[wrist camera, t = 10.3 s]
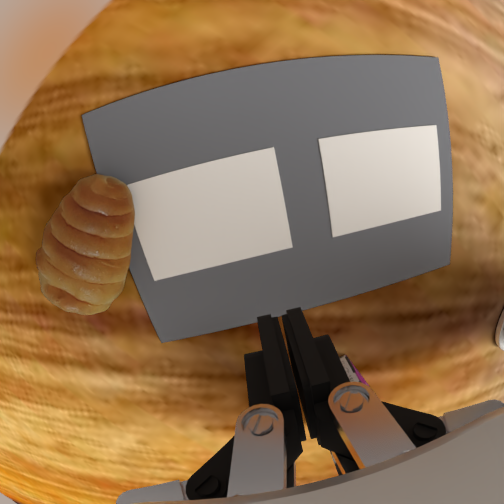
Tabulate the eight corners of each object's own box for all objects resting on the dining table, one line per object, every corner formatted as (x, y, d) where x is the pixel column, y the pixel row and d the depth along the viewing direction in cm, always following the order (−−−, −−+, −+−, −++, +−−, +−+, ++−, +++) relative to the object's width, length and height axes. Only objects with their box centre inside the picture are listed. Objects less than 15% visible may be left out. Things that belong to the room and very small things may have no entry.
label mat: (436, 57, 18) (438, 57, 17) (448, 263, 25) (450, 264, 25) (82, 115, 17) (81, 115, 17) (161, 341, 24) (161, 343, 24)
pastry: (76, 154, 18) (48, 163, 14) (163, 196, 19) (150, 213, 16) (43, 269, 20) (20, 293, 17) (117, 306, 22) (103, 337, 19)
